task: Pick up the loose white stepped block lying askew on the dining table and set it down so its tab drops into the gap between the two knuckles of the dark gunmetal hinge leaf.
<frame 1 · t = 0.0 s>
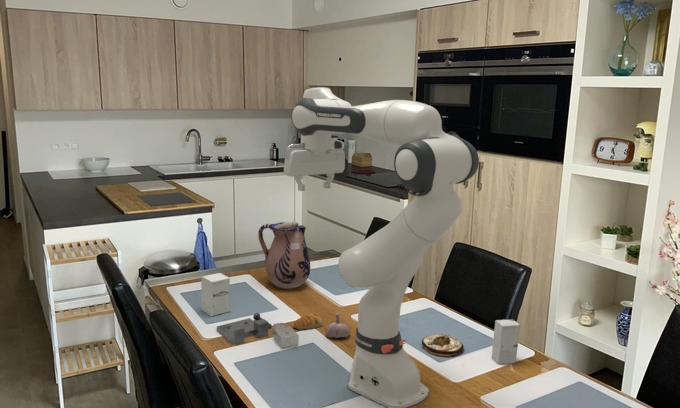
hand: (314, 189, 164), 48 cm above the table, tool pointing down, fingers open, 8 cm apart
ceramic pitcher: (283, 285, 220), on the table
skincare box: (503, 360, 163), on the table
gunmetal leaf: (240, 331, 176), on the table
brown flat two-tone disc: (442, 350, 170), on the table
hinge pin: (263, 324, 182), on the table
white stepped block: (279, 335, 175), on the table
pastry: (308, 326, 183), on the table
garlic bulb: (337, 337, 176), on the table
supplement box: (215, 311, 192), on the table
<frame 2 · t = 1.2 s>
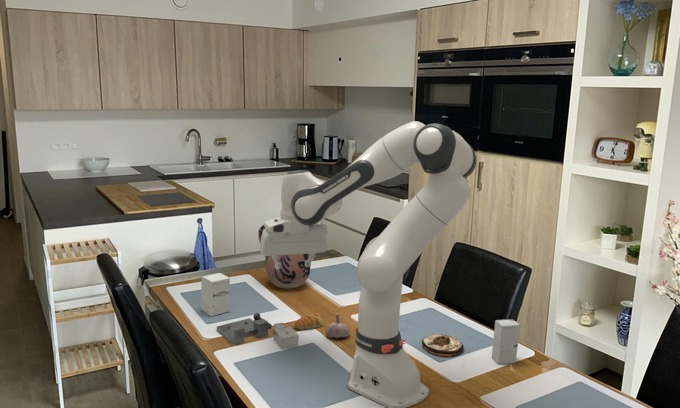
hand: (292, 267, 166), 24 cm above the table, tool pointing down, fingers open, 8 cm apart
nothing on the table moved.
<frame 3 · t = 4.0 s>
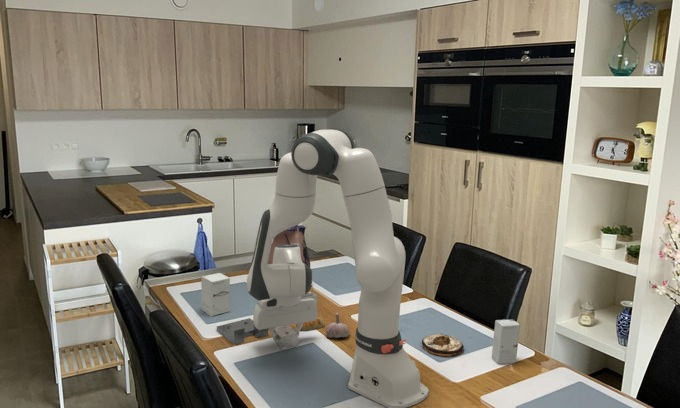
hand: (285, 337, 170), 2 cm above the table, tool pointing down, fingers closed on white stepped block, 5 cm apart
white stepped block: (279, 335, 175), on the table, touching gripper
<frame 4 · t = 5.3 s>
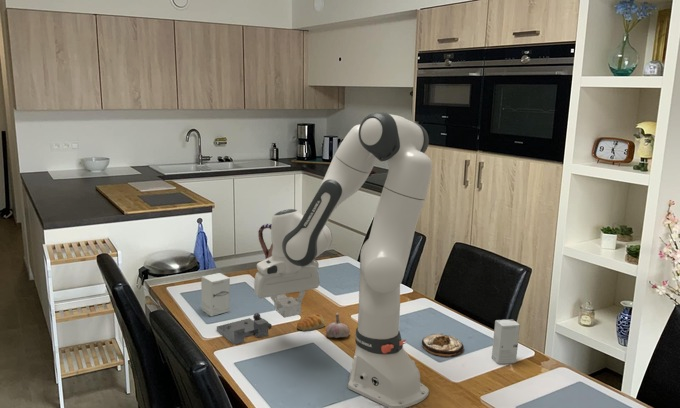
hand: (288, 306, 167), 12 cm above the table, tool pointing down, fingers closed on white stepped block, 5 cm apart
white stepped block: (281, 306, 172), point 10 cm above the table, touching gripper
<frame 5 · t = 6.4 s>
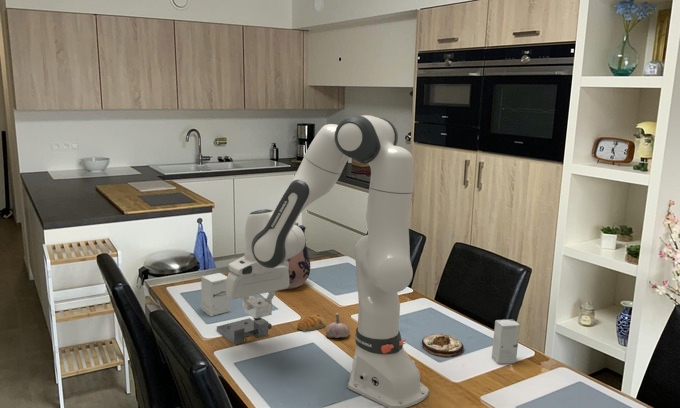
hand: (258, 306, 165), 12 cm above the table, tool pointing down, fingers closed on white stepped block, 5 cm apart
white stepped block: (248, 307, 170), point 10 cm above the table, touching gripper
when the fingers open (3 cm above the table, at t = 8.8 s): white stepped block stays where it is, on the table.
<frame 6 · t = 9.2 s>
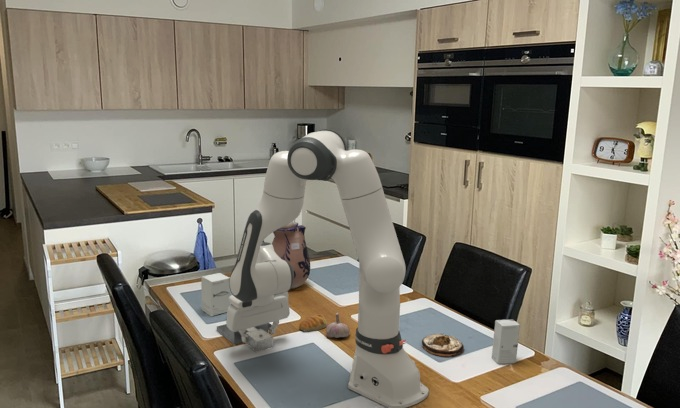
hand: (259, 337, 167), 3 cm above the table, tool pointing down, fingers open, 8 cm apart
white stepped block: (250, 338, 171), on the table
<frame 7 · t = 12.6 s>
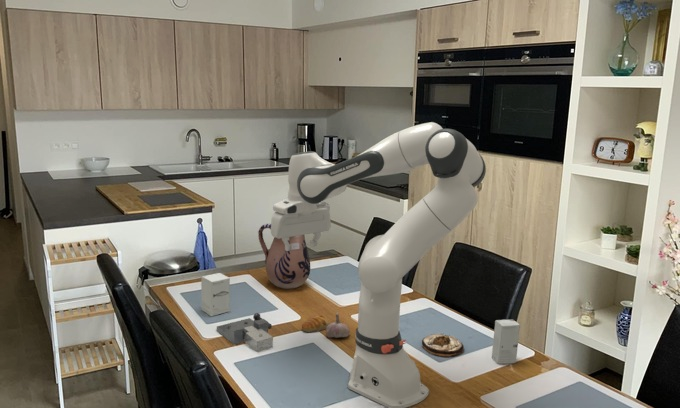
hand: (301, 248, 169), 29 cm above the table, tool pointing down, fingers open, 8 cm apart
at the end: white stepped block 0.0 cm from the target spot on the gunmetal leaf, point 0.0 cm above the gunmetal leaf's base; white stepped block tilted 0°; the gripper is holding nothing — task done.
